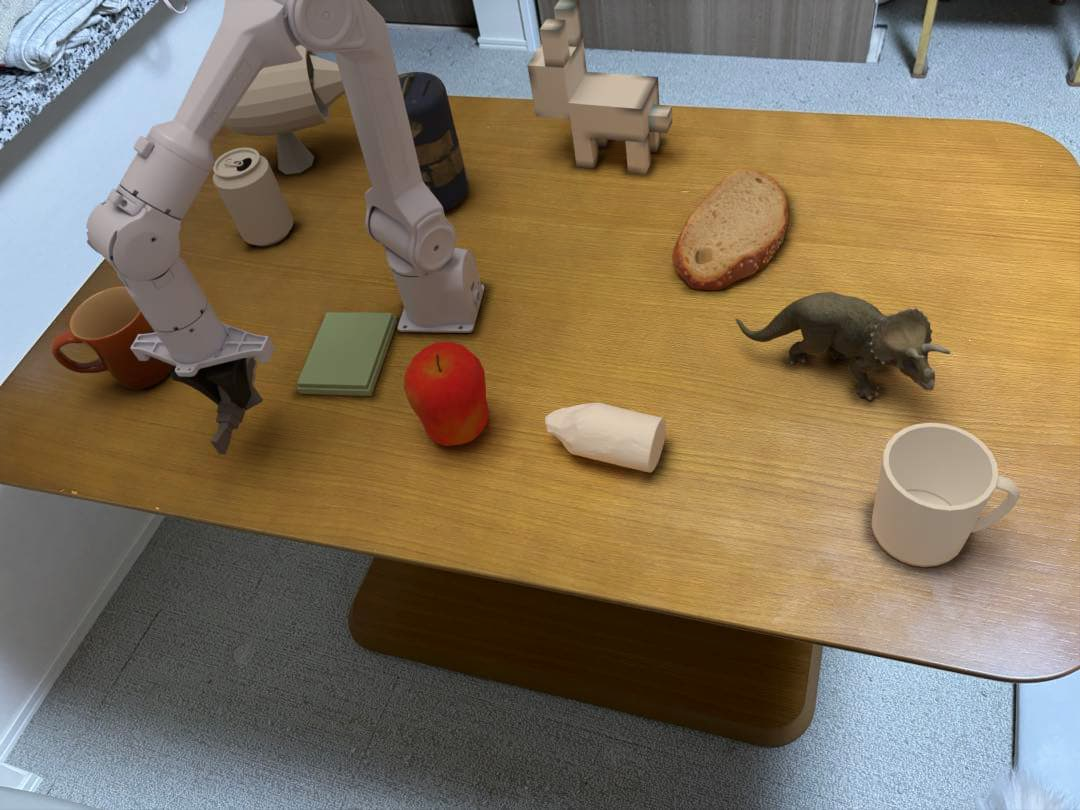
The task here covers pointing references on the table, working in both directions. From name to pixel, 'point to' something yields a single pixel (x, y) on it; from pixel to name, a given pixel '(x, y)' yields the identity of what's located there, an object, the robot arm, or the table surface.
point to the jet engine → (289, 105)
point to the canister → (434, 137)
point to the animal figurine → (233, 411)
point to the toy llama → (594, 95)
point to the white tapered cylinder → (609, 434)
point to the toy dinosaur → (856, 337)
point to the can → (252, 196)
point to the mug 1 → (111, 339)
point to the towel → (347, 354)
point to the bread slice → (732, 231)
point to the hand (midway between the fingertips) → (236, 400)
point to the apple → (448, 392)
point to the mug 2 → (935, 493)
